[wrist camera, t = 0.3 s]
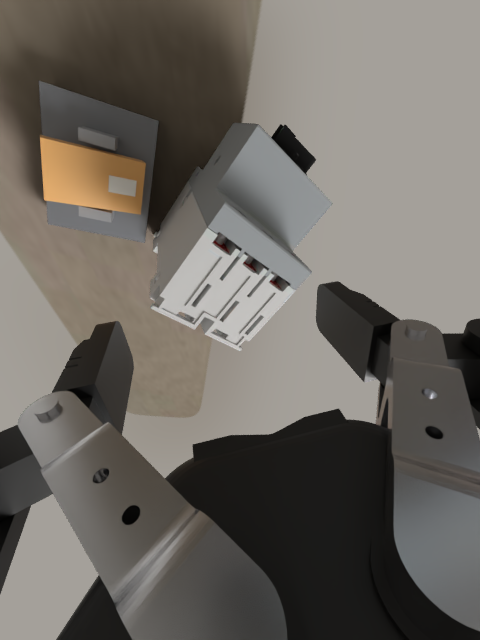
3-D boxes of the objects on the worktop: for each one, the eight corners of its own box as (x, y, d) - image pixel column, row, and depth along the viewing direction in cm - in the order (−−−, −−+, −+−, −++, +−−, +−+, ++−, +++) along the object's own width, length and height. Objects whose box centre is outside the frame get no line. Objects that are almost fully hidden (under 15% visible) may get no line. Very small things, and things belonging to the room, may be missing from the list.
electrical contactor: (292, 163, 29) (383, 194, 17) (211, 270, 34) (238, 353, 22) (236, 104, 25) (303, 91, 13) (153, 234, 30) (148, 311, 18)
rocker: (39, 133, 20) (39, 137, 18) (140, 159, 23) (146, 163, 22) (44, 193, 22) (44, 200, 20) (136, 208, 25) (141, 215, 24)
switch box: (52, 84, 22) (27, 77, 18) (158, 120, 25) (158, 121, 21) (57, 214, 27) (40, 231, 23) (146, 232, 30) (143, 250, 26)
